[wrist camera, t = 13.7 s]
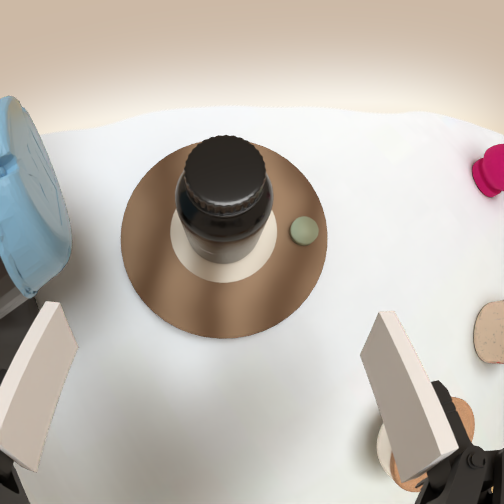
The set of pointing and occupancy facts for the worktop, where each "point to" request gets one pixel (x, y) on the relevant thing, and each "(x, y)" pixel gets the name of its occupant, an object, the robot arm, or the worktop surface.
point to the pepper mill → (490, 171)
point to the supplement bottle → (224, 198)
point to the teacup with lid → (490, 333)
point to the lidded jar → (388, 458)
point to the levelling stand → (224, 275)
